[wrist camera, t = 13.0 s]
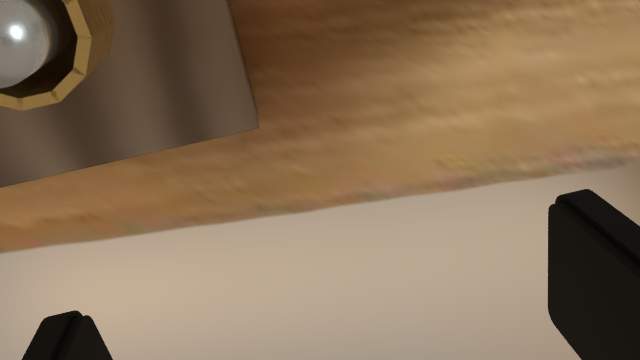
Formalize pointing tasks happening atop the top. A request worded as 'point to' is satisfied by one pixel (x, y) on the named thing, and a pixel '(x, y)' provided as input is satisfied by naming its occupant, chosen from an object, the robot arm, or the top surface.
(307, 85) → the top surface
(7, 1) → the piston post
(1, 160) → the walnut stand
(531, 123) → the top surface
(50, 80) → the brass ring
